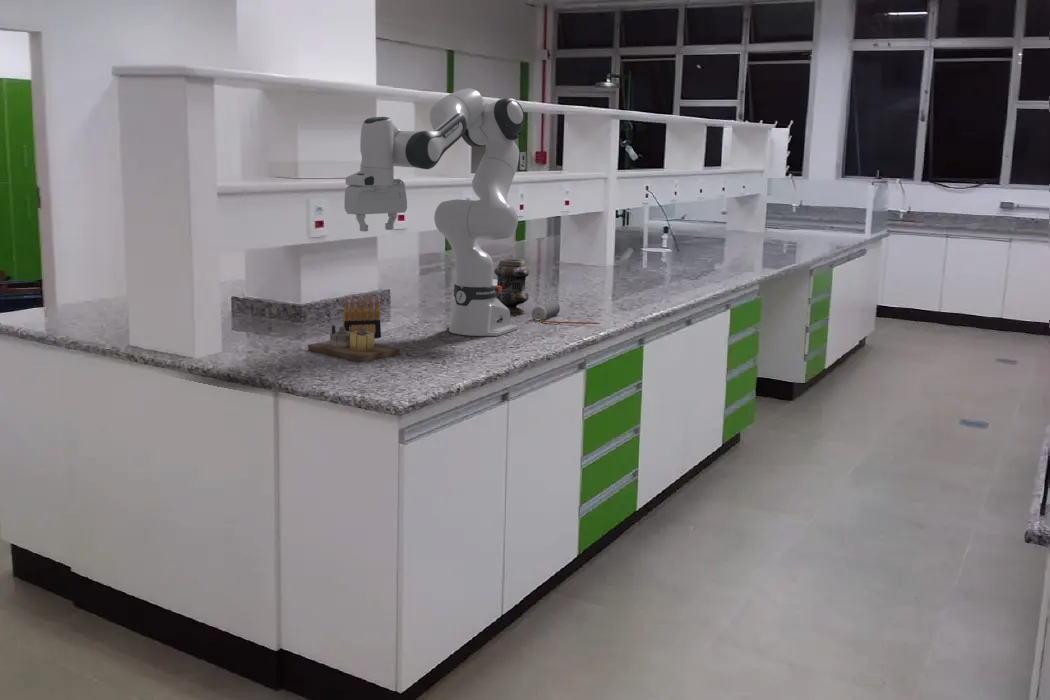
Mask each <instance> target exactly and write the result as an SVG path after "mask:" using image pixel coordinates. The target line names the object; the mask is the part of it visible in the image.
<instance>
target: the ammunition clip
mask: <svg viewBox="0 0 1050 700" xmlns="http://www.w3.org/2000/svg"><path fill="white" fill-rule="evenodd" d="M344 297H345V298H344V301H343V302H344V303H343V314H342V315H343V316H342V317H343V320H342V321H343V323H342V326H343V327H345V331H350V332H356V331H359V328H360V327H364V328H365V331H369V332H374V339H379V338H380V339H381V338H382V332H381V330H382V328H381V308H380V298H379V296H378V295H376V297H375V304H374V299H373V296H372V295H371V296H370V297H369V300H368V299H367V297H366V296H365V295H364V296H363V299H362V301H361V297H360V296H357V299H356V303H355V299H354V296H351V298H350V302H349V300H348V299H349V298H348V297H347V295H346V296H344ZM367 300H368V301H367ZM367 302H368V303H367ZM349 303H350V305H349ZM361 303H362V305H361ZM355 304H356V306H355ZM374 305H375V306H374Z"/></svg>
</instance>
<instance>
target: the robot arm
mask: <svg viewBox="0 0 1050 700" xmlns="http://www.w3.org/2000/svg"><path fill="white" fill-rule="evenodd" d="M429 121H430V125H431V127H432V129H433V130H419V131H417V130H416V131H415V130H413V131H412V130H402V129H400V128H398V127H397V126H395V124H394V123H393V121H392V118H390V117H387V116H375V117H370V118H369V117H368V118H366V119H365V120H364V121H362V126H361V128H360V129H361V130H360V139H359V140H360V143H359V145H360V147H359V150H360V155H361V161H360V166H359V167H360V170H359V171H358V172H355V173H353V174H350V175H347V176H346V177H345V185H347V186H346V188H345V191H344V203H343V204H344V210H345V212H346V214H348V215H353V216H355V215H356V216H355V219H356V221H357V223H358V224H359V231H360V232H368V231H369V224H366V221H365V219H366V215H374V214H375V215H376V214H377V215H379V214H380V215H381V214H387V217H388V220H387V222H386V223H384V229H385V231H390V230H391V231H393V230H394V224H395V222H396V220H397V216H398V215H397V214H401V213H403V214H404V213H406V212H407V209H408V200H407V197H408V196H407V191H406V185H405V184H406V183H404V181H403V180H402V178H394V175H395V173H394V169H395V168H394V167H402V168H416V169H422V170H431V169H433V168H434V167H435V166H437V164H438V162H439V161H440V160H441V158H442V157H443V155H444V154H445V152H446V151H447V150H449V148H451V147H452V146H453V145H455V143H456V142H457V141H459V140H460V139H461V138H462V140H463V141H464V142H465V143H466V145H468V146H470V147H472V148H479V147H480V148H481V147H482V148H483V147H485V150H484V151H485V152H484V154H483V156H482V158H481V160H480V162H479V165H478V167H477V169H476V171H475V173H474V175H473V178H472V181H471V185H472V190H473V192H474V194H475V195H476V196H477V198H479V199H478V200H474V199H473V200H471V199H459V198H458V199H450V200H445V201H441V202H440V203H439V204H438V206H436V208H435V211H434V218H433V220H434V224H435V227H436V230H438V232H439V233H440V234H442V235H443V236H444V238H445V239H446V241H447V242H448V243H449V246H450V247H451V249H452V254H453V257H454V265H455V284H454V285H453V297H454V300H453V303H452V306H451V307H452V308H451V314H450V315H451V316H450V323H448V326H447V327H448V332H450V333H452V334H456V335H461V336H471V337H472V336H476V337H477V336H479V337H480V336H481V337H483V336H485V337H486V336H487V337H497V336H498V335H499V336H502V335H505V334H507V333H510V332H513V331H517V330H518V329H519V325H517V324H514V323H511V315H510V311H509V309H508V308H507V307H506V306H505V305H503V304H502V303H501V302H500V301H499V300H498V299H497V298H496V292H498V293H500V292H501V291H502V289H501V288H502V287H501V286H497V285H493V283H494V281H493V280H494V279H493V278H494V262H493V258H492V257H491V256H490V254H489V253H487V252H486V251H485V250H483V249H482V248H481V246H480V245H479V242H478V239H479V240H492V241H495V240H496V241H497V240H503V239H509V238H511V237H512V236H513V235H514V234H515V233H516V230H517V228H518V224H519V218H518V214H517V212H516V211H517V210H515V208H514V207H513V205H511V204H510V203H509V200H508V193H509V190H510V188H511V184H512V183H513V179H514V177H515V174H516V172H517V169H518V165H519V161H520V149H519V146H518V145H517V144H516V143H515V141H516V140H518V139H519V138H520V136H521V135H522V129H523V127H524V123H525V113H524V109H523V108H522V105H521V104H520V102H519V101H517V100H516V99H514V98H511V97H510V98H509V97H505V98H500V99H498V100H496V101H493V102H490V103H488V104H485V101H484V98H483V96H482V94H481V93H480V92H479V91H478V90H476V89H475V88H474V89H473V88H469V87H466V88H462V89H459V90H457V91H453V92H452V93H449V94H447V95H446V96H444V97H442V98H441V99H439V100H437V102H435V103H434V105H433V106H432V107H431V109H430V112H429Z"/></svg>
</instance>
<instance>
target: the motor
mask: <svg viewBox="0 0 1050 700" xmlns="http://www.w3.org/2000/svg"><path fill="white" fill-rule="evenodd" d="M560 310H561V307H560V305H559V303H558V302H557V301H555V300H551V301H548V302H544V303H542V304H540V305H537V306H535V307H533V308H532V310H531V317H532V319H533V320H534V319H540V321H541V322H540V321H539V322H540V323H542V322H549V323H558V324H575V325H583V324H584V325H586V324H587V325H598V324H601V322H589V321H587V322H585V321H584V322H581V321H579V322H577V321H555V320H554V321H553V320H547V318H548V319H550V318H552V317H554V315H555V316H557V315H558V314H559V313H560ZM556 314H557V315H556ZM549 317H550V318H549ZM544 319H545V320H544Z"/></svg>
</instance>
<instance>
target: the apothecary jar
mask: <svg viewBox="0 0 1050 700" xmlns="http://www.w3.org/2000/svg"><path fill="white" fill-rule="evenodd" d="M493 274H495V275H496V276H497V279H496V281H497V282H496V283H497V284H496V286H501V287H502V288H501V289H502V291H501V292H500V293H498V292H496V298H497V299H498V300H499V301H500V302H501V303H502V304H503V305H505V306H506V307H507V308H508V309H509V311H510V314H516V315H523V314H526V311H525V310H524V309H523V308H520V307H518V305H521V304H524V303H526V302H527V301H528V300H529V297H530V295H529V293H528V291H527V290H526V277H528V275H530V269H529V268H528V266H527V265H526V260H524V259H520V258H507V257H506V258H500V259H499V262H498V265H497V266H495V267H494V268H493Z"/></svg>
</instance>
